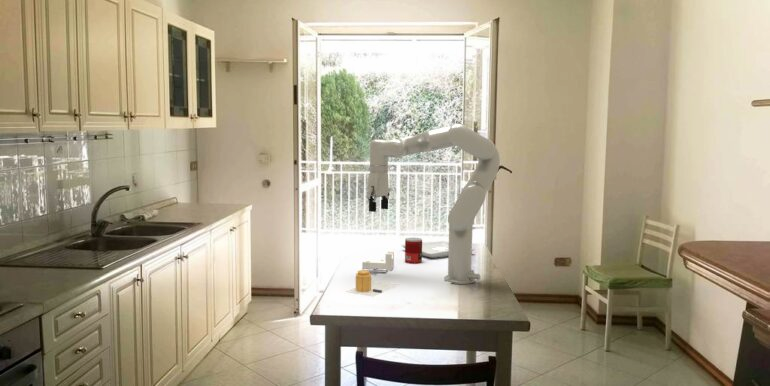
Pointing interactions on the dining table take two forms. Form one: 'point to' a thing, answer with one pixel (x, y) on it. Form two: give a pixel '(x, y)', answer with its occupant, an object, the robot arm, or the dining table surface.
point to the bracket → (380, 262)
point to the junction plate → (375, 288)
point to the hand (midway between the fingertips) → (378, 210)
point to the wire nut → (363, 281)
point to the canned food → (413, 250)
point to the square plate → (432, 253)
